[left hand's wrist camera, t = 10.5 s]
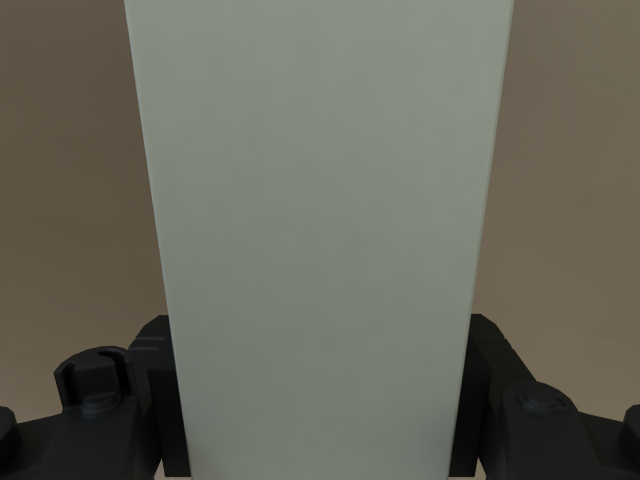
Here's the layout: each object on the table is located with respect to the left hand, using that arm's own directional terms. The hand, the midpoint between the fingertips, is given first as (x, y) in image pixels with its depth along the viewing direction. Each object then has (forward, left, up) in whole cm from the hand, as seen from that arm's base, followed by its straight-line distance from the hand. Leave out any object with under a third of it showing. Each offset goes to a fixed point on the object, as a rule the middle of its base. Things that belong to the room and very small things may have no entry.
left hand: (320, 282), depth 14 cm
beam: (-25, +5, -1) cm, 26 cm away
